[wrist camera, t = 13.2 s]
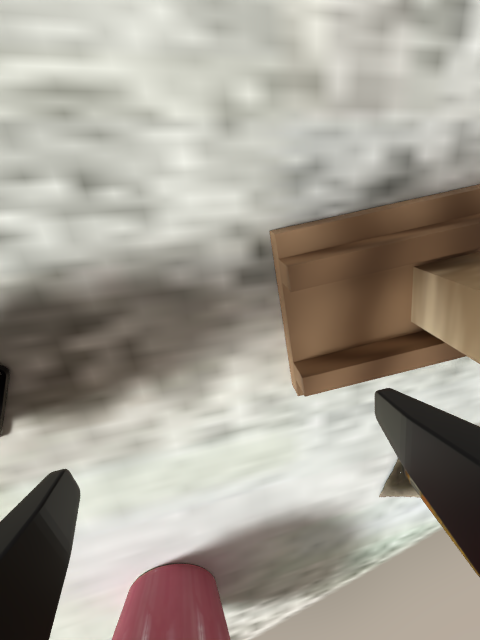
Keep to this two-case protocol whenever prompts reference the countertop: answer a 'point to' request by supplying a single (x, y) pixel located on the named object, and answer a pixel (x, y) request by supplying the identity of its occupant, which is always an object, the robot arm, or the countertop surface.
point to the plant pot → (173, 606)
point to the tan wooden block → (449, 302)
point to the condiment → (410, 494)
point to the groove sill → (366, 287)
